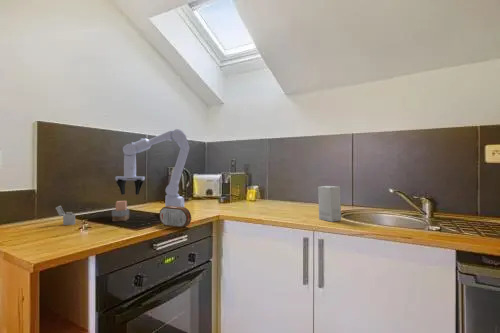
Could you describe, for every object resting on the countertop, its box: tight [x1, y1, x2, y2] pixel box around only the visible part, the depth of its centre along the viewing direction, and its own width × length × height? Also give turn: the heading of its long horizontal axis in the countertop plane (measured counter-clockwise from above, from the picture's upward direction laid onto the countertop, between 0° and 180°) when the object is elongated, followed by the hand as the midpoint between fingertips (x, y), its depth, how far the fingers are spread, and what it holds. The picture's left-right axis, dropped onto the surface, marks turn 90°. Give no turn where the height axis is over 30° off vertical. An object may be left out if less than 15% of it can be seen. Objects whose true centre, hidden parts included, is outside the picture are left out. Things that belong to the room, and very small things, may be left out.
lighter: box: [55, 205, 76, 226], centre depth 117 cm, size 7×2×8 cm, turn 98°
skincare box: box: [317, 185, 342, 223], centre depth 126 cm, size 8×7×16 cm
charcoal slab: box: [111, 208, 130, 217], centre depth 126 cm, size 5×5×2 cm
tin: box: [159, 206, 192, 229], centre depth 113 cm, size 15×3×8 cm, turn 65°
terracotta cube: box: [115, 200, 128, 211], centre depth 126 cm, size 4×4×4 cm
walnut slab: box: [111, 214, 130, 222], centre depth 126 cm, size 6×6×2 cm
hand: (130, 194), depth 139 cm, fingers open, 7 cm apart
